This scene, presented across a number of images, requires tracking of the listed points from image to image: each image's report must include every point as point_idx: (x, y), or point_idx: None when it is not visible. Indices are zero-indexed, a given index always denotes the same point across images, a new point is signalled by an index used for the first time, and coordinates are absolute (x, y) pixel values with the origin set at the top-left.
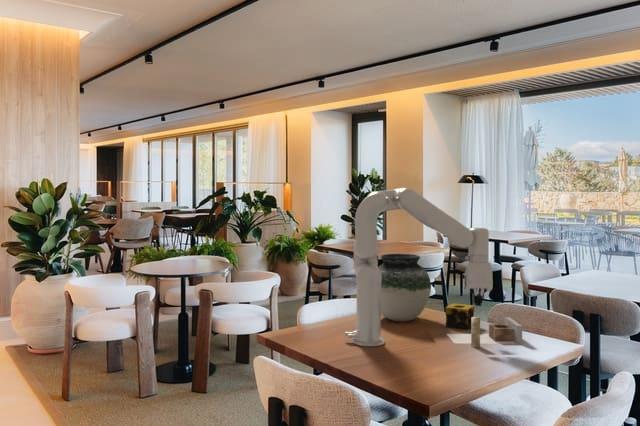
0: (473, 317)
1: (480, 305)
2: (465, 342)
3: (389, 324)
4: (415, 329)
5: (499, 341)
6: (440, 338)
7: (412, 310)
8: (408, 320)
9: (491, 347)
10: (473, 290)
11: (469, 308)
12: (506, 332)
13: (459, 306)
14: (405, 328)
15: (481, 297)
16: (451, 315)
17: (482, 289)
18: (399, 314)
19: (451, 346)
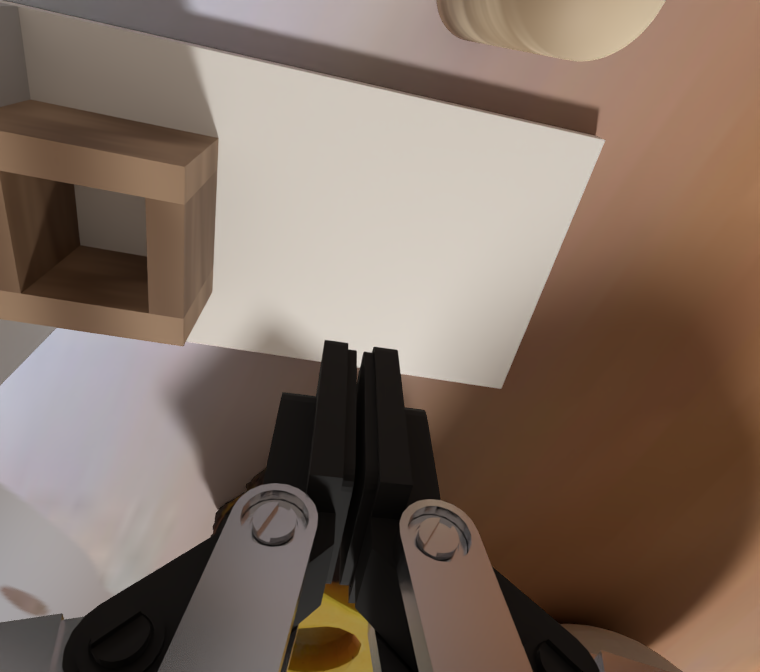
0: (624, 3)
1: (332, 341)
2: (497, 149)
3: (658, 595)
4: (589, 516)
5: (174, 124)
6: (566, 340)
7: None
8: None
9: (299, 23)
10: (503, 660)
11: None
12: (64, 130)
13: (296, 662)
14: (630, 536)
15: (282, 472)
16: None
17: (231, 665)
18: (633, 649)
19: (627, 128)
